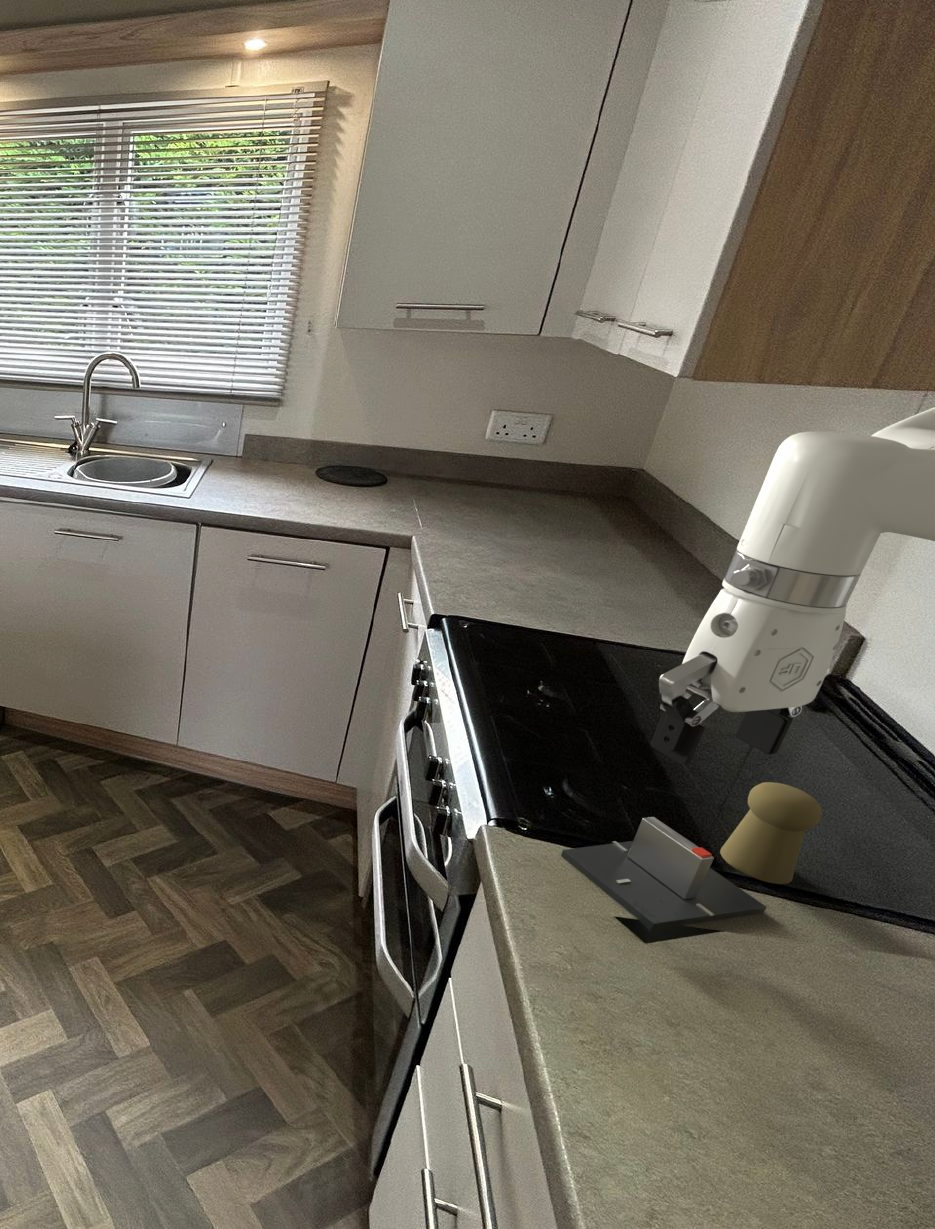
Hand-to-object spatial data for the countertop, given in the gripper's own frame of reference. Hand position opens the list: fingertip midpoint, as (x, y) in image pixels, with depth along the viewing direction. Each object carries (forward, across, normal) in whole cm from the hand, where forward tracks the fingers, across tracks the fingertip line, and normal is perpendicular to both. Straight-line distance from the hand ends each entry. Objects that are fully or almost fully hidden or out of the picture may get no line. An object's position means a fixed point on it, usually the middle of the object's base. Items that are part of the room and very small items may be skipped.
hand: (712, 750), depth 70 cm
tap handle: (+15, +1, 0) cm, 15 cm away
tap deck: (+18, +1, 0) cm, 18 cm away
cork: (+18, +14, +1) cm, 23 cm away
